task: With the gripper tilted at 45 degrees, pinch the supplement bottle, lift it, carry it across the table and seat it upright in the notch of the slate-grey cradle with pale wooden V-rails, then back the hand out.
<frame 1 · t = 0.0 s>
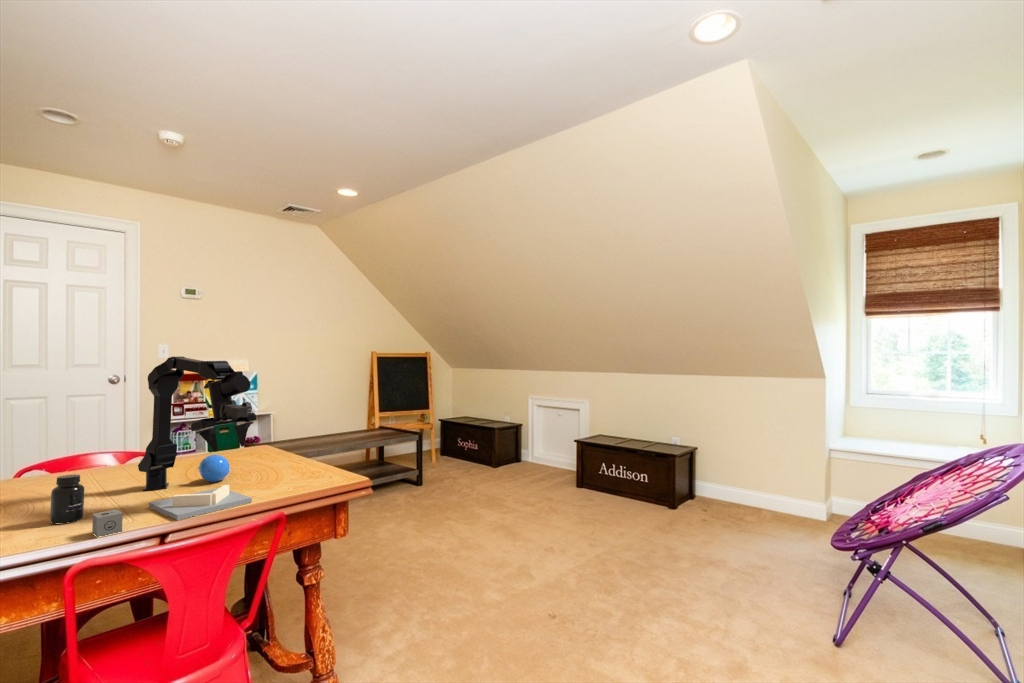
hand: (229, 448, 157), 15 cm above the table, tool pointing down, fingers open, 9 cm apart
v cradle: (200, 505, 150), on the table
supplement bottle: (67, 521, 137), on the table
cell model: (214, 481, 179), on the table
dice cube: (107, 534, 127), on the table
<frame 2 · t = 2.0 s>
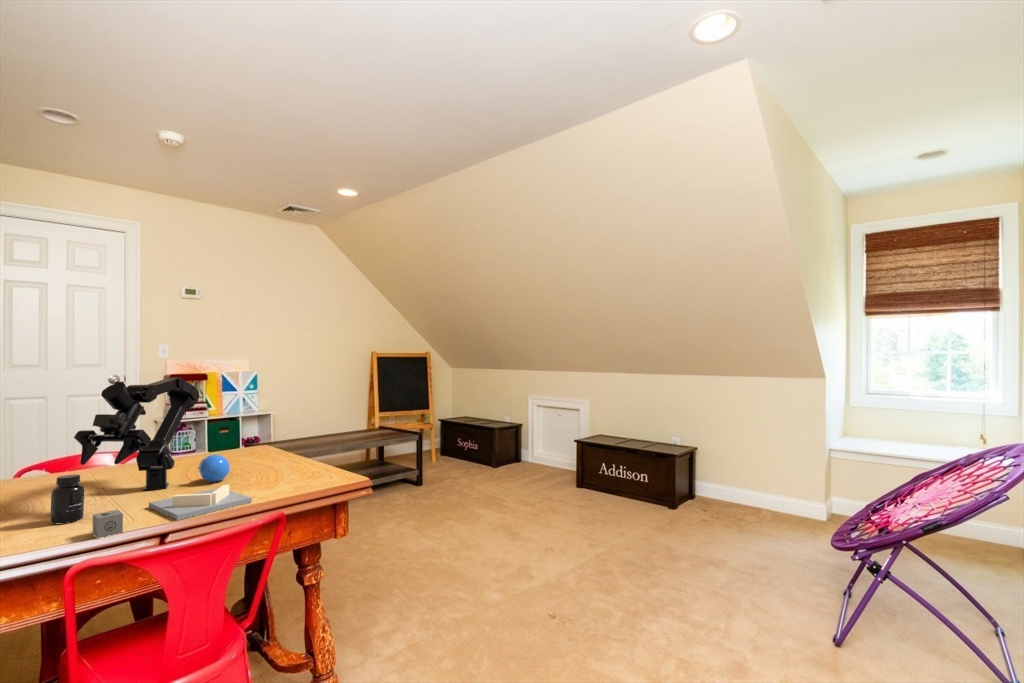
hand: (98, 464, 145), 14 cm above the table, tool tilted 40°, fingers open, 9 cm apart
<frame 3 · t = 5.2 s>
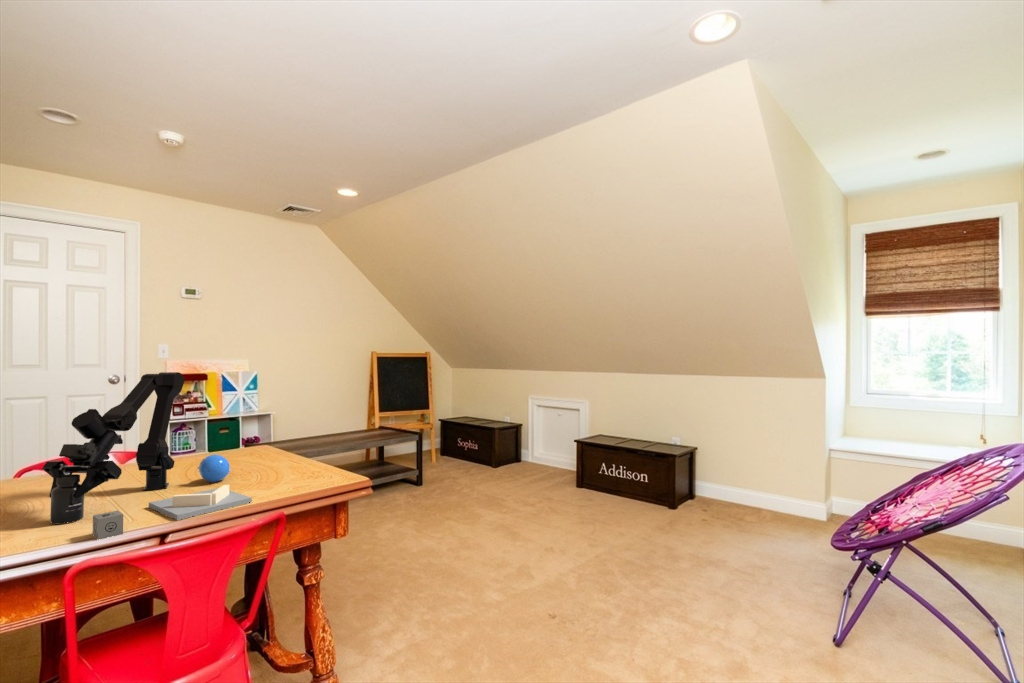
hand: (63, 497, 136), 7 cm above the table, tool tilted 45°, fingers closed on supplement bottle, 6 cm apart
supplement bottle: (67, 521, 137), on the table, touching gripper
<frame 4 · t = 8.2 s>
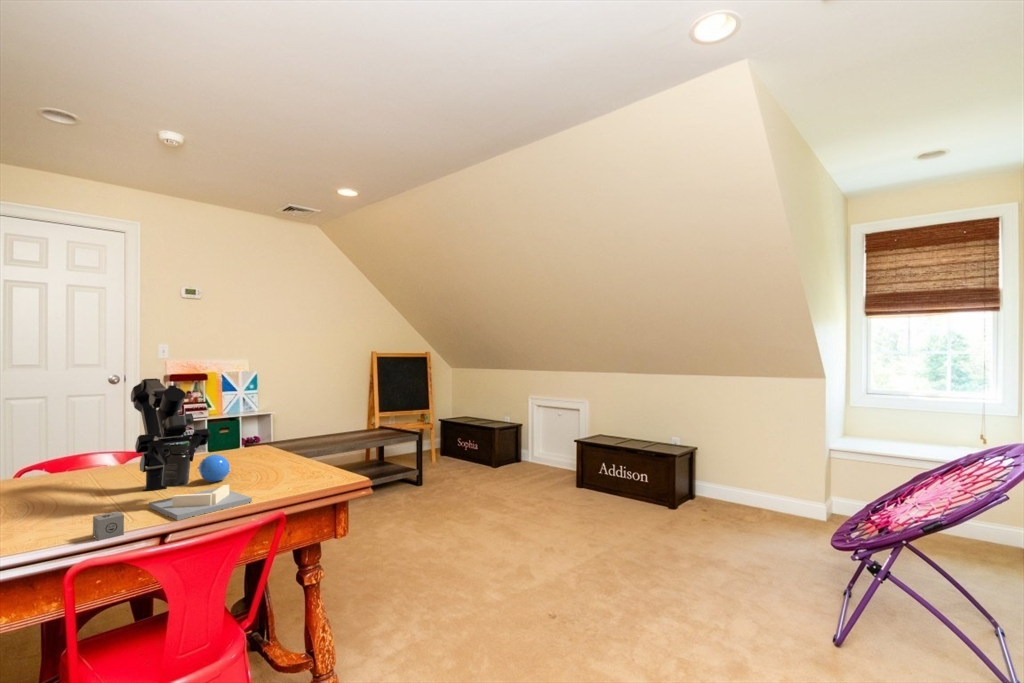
hand: (179, 462, 152), 12 cm above the table, tool tilted 45°, fingers closed on supplement bottle, 6 cm apart
supplement bottle: (174, 485, 152), point 5 cm above the table, touching gripper
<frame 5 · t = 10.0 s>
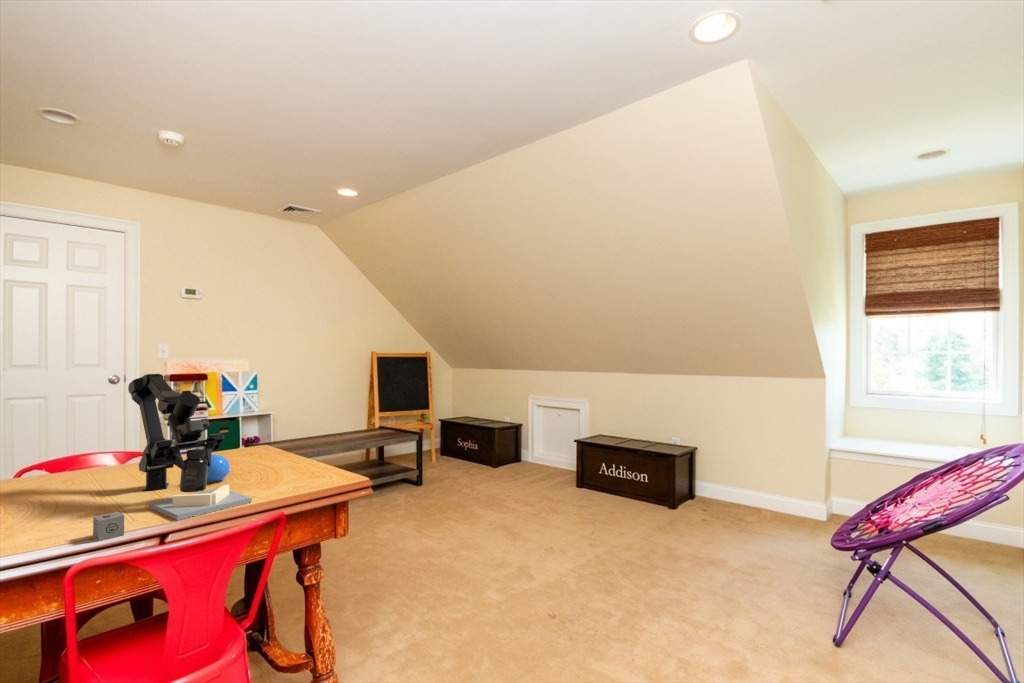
hand: (197, 467, 152), 11 cm above the table, tool tilted 45°, fingers closed on supplement bottle, 6 cm apart
supplement bottle: (192, 491, 152), point 4 cm above the table, touching gripper
when the fingers open (9 cm above the table, at t = 11.4 s): supplement bottle stays where it is, resting on v cradle.
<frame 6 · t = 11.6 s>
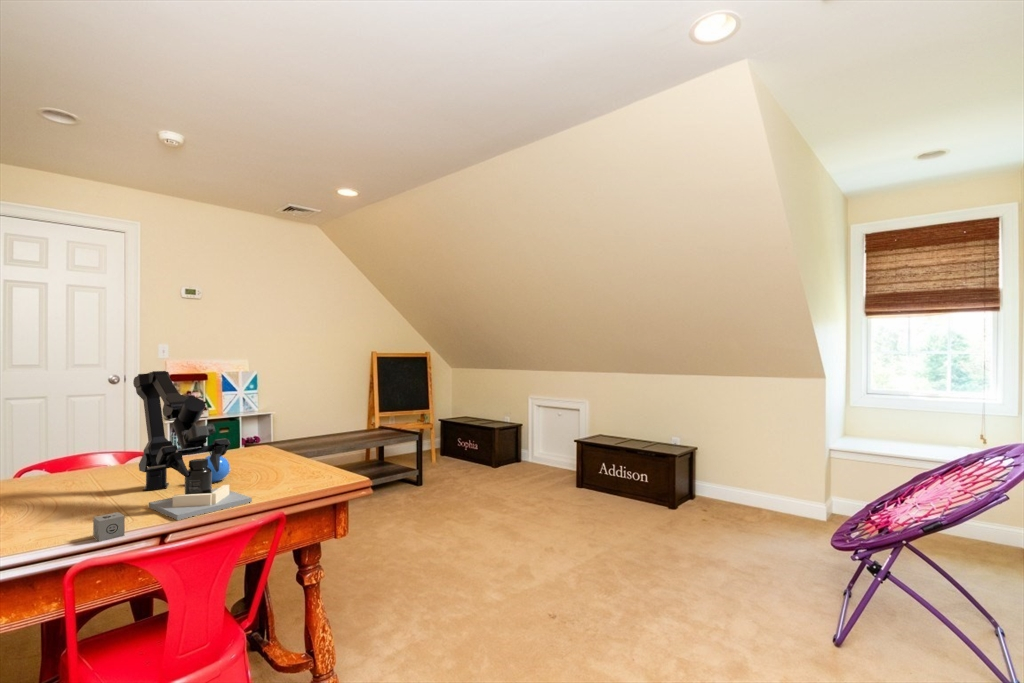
hand: (203, 473, 150), 9 cm above the table, tool tilted 45°, fingers open, 8 cm apart
supplement bottle: (198, 501, 150), point 1 cm above the table, touching gripper, v cradle
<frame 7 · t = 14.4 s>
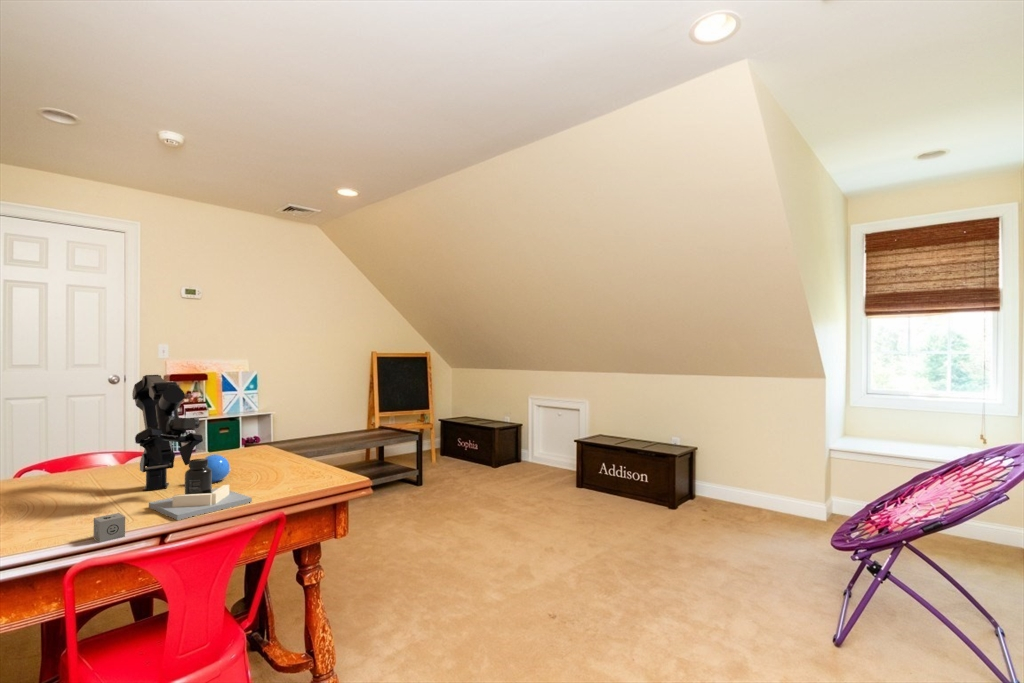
hand: (173, 464, 154), 11 cm above the table, tool tilted 30°, fingers open, 9 cm apart
supplement bottle: (198, 501, 150), point 1 cm above the table, touching v cradle
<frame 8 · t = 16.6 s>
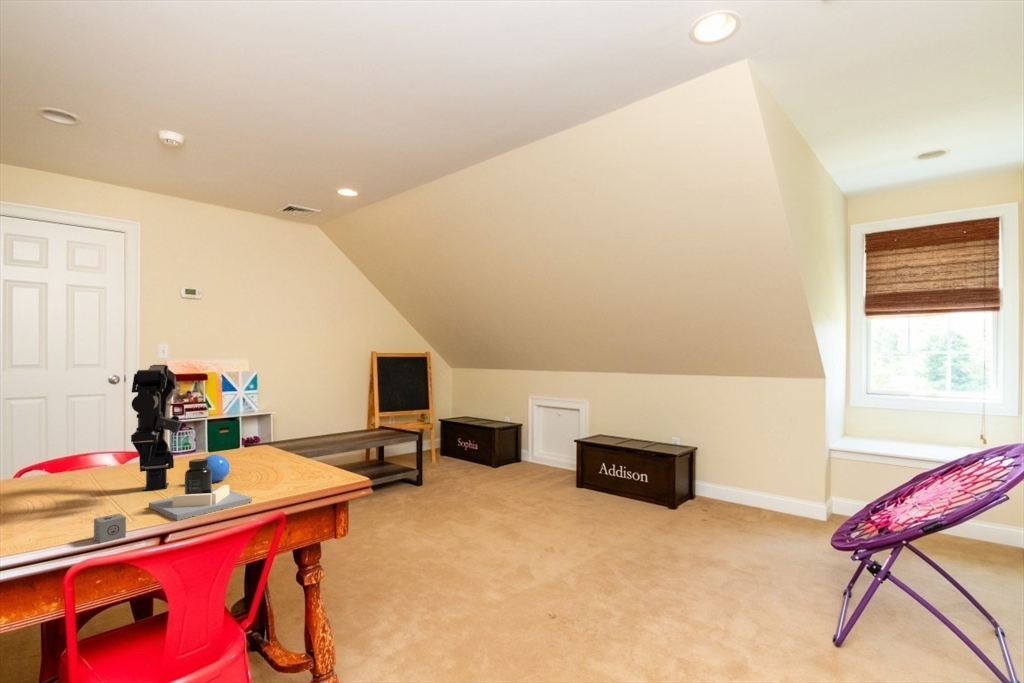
hand: (148, 460, 157), 12 cm above the table, tool pointing down, fingers open, 9 cm apart
at the end: supplement bottle 0.7 cm from the v cradle (horizontally); supplement bottle tilted 0°; the gripper is holding nothing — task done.
